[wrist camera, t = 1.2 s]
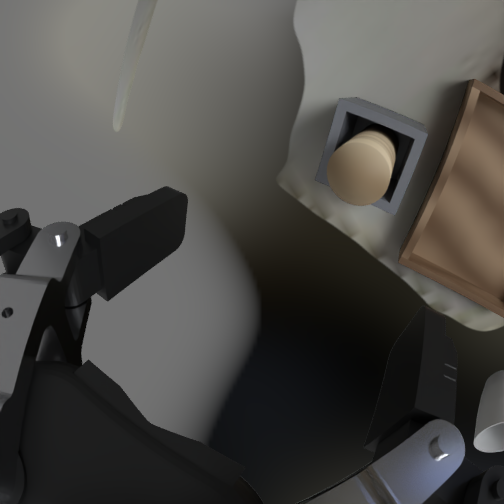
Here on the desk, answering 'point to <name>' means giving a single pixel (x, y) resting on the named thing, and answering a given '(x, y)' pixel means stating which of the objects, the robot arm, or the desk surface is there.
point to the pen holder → (366, 113)
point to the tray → (466, 206)
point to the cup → (491, 415)
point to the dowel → (363, 165)
